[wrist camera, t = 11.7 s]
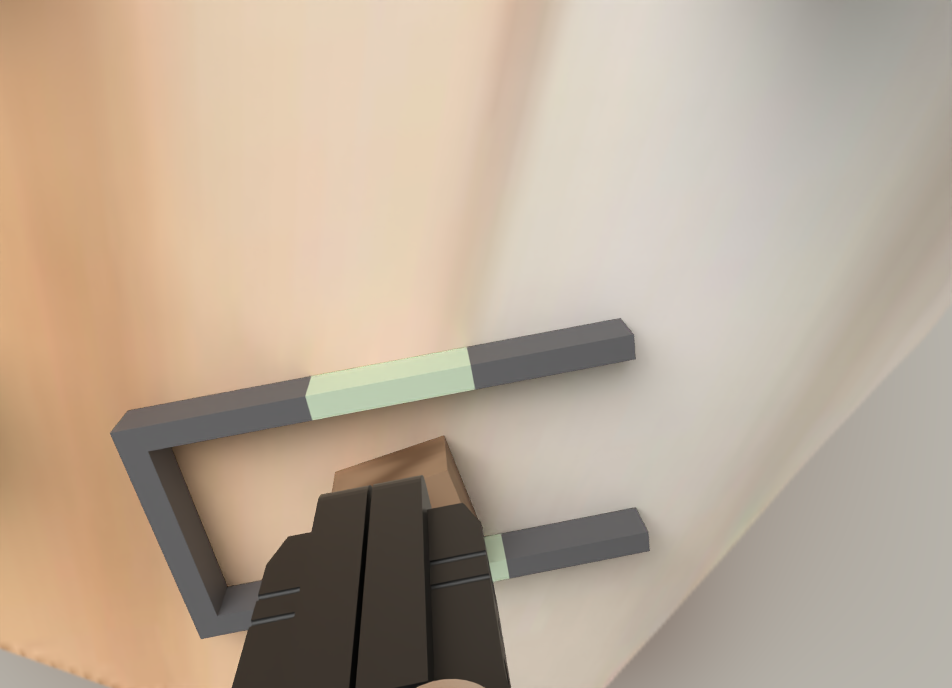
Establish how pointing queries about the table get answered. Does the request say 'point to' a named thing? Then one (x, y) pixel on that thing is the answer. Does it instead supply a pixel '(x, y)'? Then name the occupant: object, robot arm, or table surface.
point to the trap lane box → (348, 391)
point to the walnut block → (412, 472)
